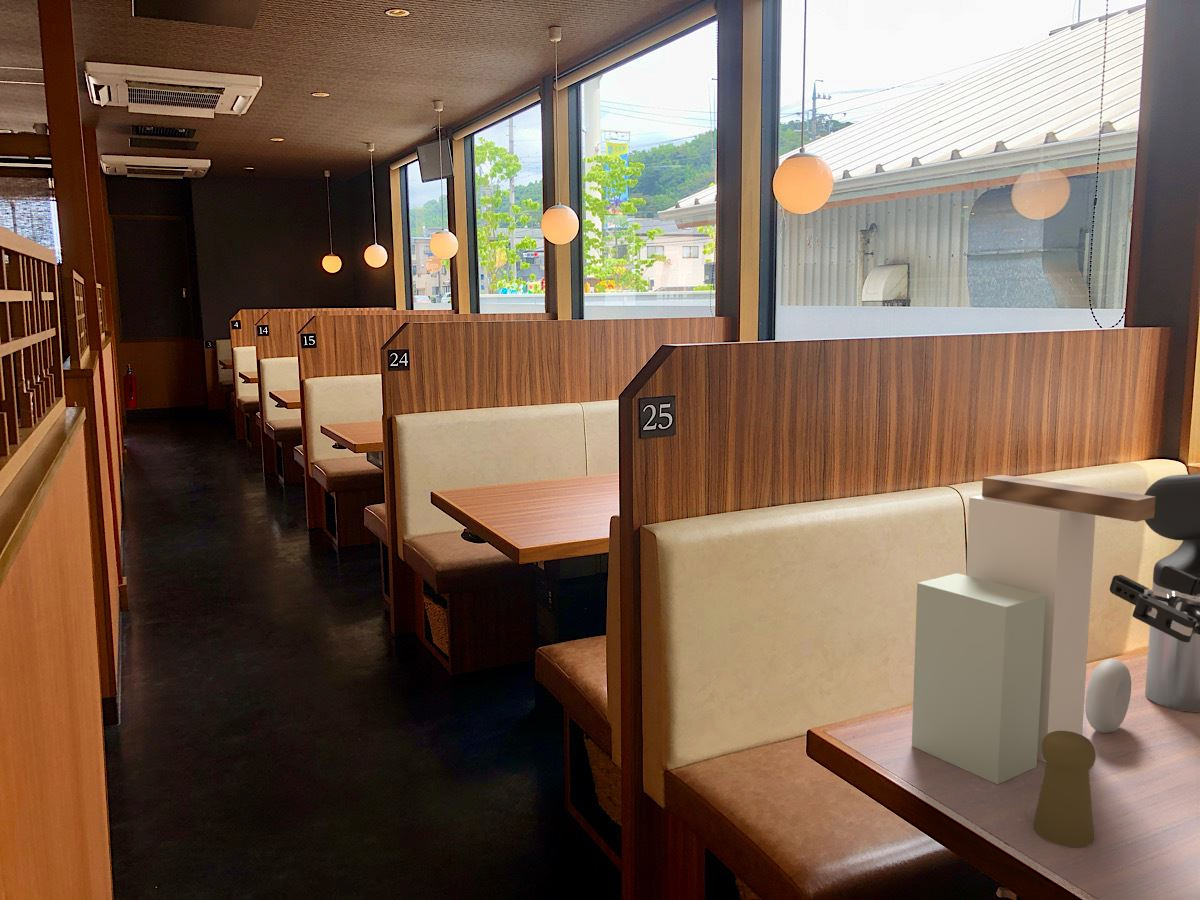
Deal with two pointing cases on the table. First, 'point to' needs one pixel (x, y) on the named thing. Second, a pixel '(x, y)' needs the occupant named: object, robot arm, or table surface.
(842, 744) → the table surface
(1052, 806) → the cork
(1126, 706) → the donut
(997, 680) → the stand
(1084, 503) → the slat
